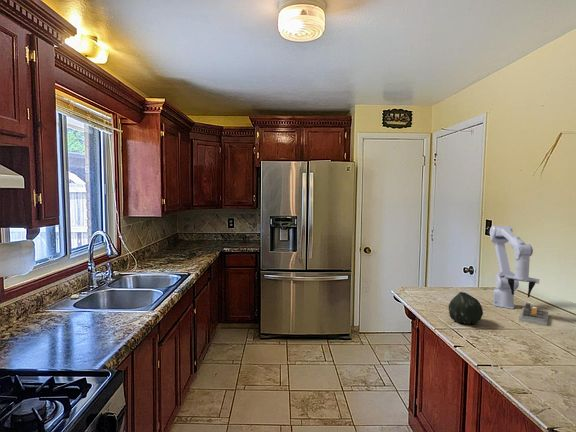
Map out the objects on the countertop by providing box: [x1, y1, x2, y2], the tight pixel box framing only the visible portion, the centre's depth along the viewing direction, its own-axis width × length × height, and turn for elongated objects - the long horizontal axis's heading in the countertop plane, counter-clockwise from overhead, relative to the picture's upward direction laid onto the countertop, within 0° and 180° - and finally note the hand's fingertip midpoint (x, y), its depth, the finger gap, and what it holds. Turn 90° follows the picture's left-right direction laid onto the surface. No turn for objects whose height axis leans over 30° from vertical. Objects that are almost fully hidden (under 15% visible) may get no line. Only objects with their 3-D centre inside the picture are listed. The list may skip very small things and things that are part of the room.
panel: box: [518, 307, 549, 327], centre depth 182 cm, size 11×19×2 cm, turn 143°
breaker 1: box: [524, 302, 532, 310], centre depth 188 cm, size 2×2×3 cm
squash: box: [447, 291, 484, 325], centre depth 175 cm, size 14×15×15 cm
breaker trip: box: [531, 306, 538, 315], centre depth 181 cm, size 2×2×4 cm
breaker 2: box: [523, 307, 529, 316], centre depth 179 cm, size 2×2×3 cm
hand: (520, 295), depth 185 cm, fingers open, 6 cm apart
